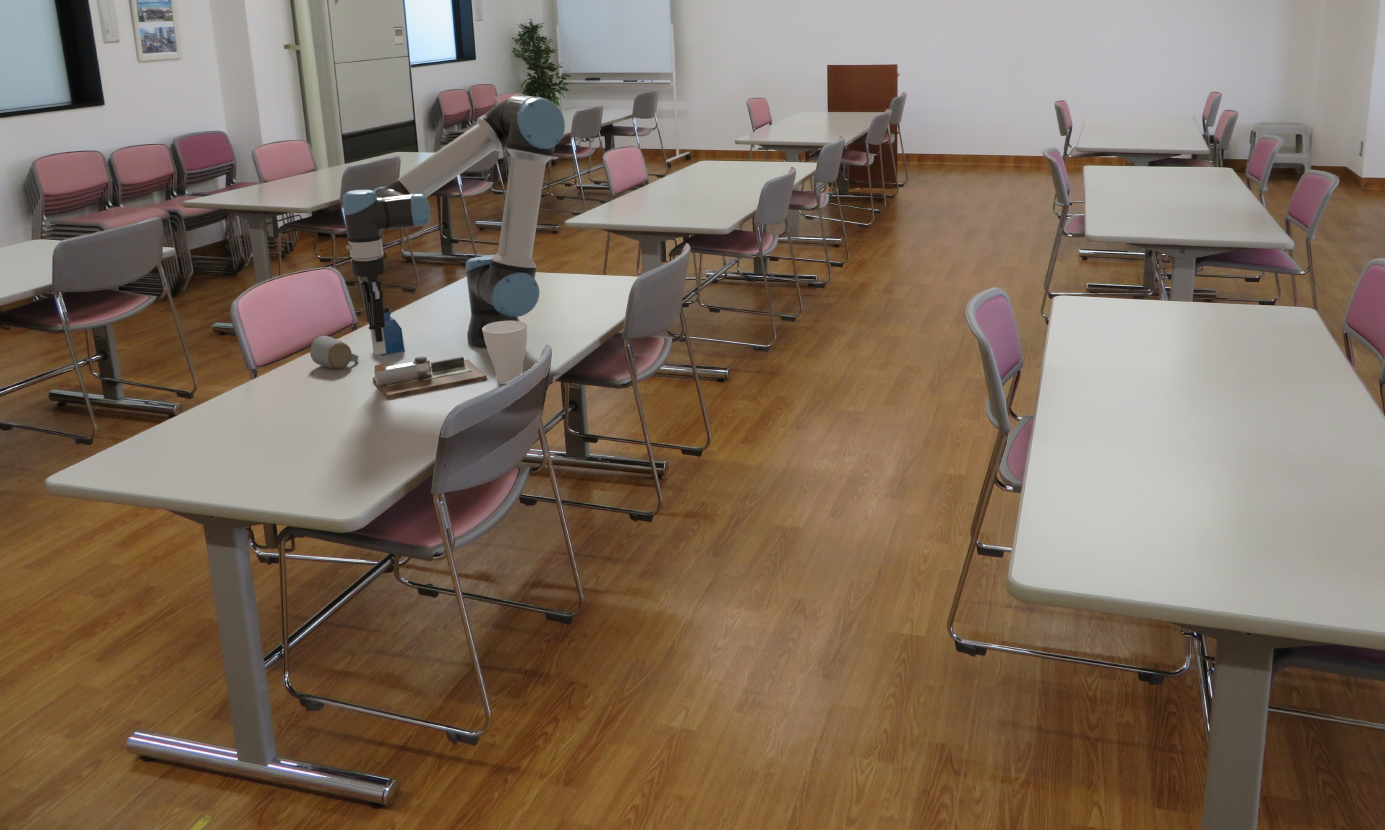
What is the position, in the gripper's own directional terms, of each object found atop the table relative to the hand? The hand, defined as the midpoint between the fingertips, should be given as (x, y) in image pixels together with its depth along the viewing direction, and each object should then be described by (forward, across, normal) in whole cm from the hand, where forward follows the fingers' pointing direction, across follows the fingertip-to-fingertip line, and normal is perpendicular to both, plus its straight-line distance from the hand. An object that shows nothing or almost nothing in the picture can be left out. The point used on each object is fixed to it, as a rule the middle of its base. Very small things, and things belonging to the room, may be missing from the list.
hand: (379, 353), depth 258 cm
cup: (+7, +19, +26) cm, 33 cm away
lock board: (+7, +8, +10) cm, 14 cm away
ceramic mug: (+7, -18, -7) cm, 21 cm away
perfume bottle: (+7, -23, +7) cm, 25 cm away
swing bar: (+5, +8, +3) cm, 10 cm away
